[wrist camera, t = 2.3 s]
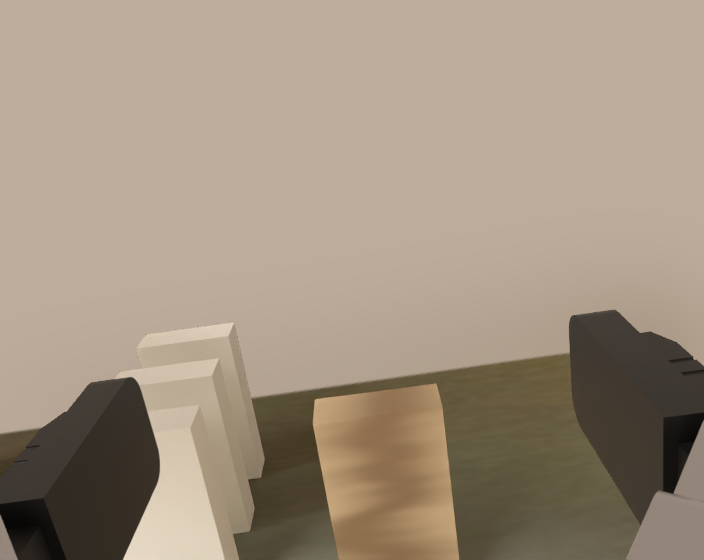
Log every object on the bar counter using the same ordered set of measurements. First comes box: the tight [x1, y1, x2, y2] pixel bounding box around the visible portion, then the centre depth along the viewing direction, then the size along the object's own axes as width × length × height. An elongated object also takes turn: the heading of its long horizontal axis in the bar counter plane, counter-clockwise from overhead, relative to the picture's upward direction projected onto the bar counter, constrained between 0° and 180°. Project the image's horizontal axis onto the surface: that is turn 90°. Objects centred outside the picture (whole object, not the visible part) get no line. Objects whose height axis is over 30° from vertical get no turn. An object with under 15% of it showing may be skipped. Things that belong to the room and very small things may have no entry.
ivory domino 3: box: [123, 405, 239, 560], centre depth 28 cm, size 5×2×9 cm, turn 90°
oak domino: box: [313, 384, 459, 560], centre depth 27 cm, size 5×2×9 cm, turn 90°
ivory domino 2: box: [115, 358, 255, 534], centre depth 33 cm, size 5×2×9 cm, turn 90°
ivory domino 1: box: [136, 323, 265, 480], centre depth 37 cm, size 5×2×9 cm, turn 90°
